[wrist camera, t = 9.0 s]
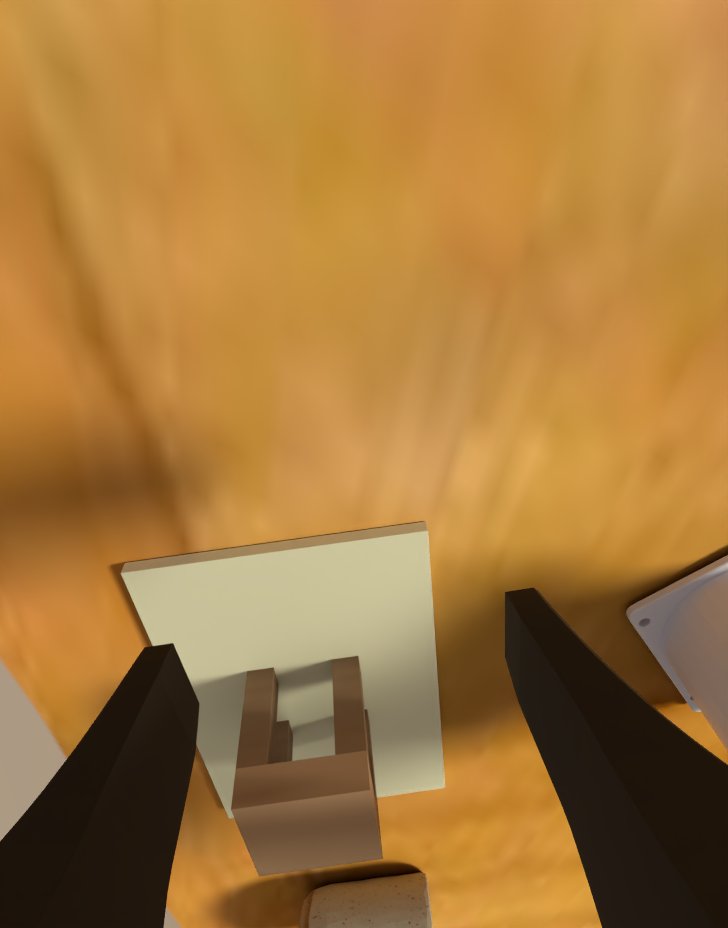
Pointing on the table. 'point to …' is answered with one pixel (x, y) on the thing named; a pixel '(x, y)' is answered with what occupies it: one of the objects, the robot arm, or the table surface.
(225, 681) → the mat
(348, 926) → the ceramic mug
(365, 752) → the stool
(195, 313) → the table surface
